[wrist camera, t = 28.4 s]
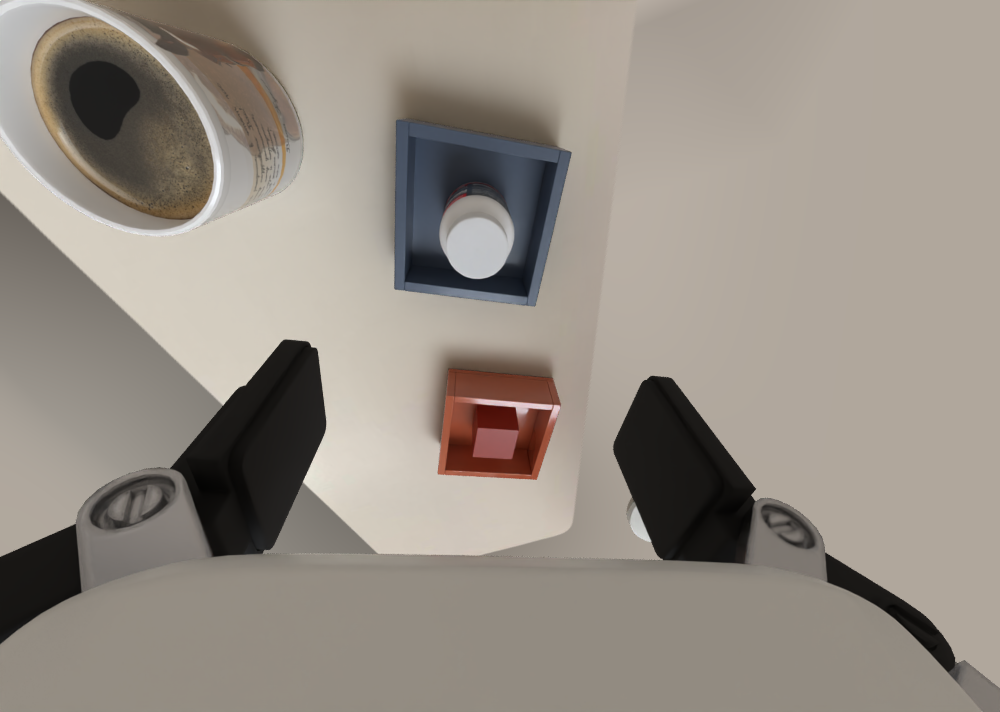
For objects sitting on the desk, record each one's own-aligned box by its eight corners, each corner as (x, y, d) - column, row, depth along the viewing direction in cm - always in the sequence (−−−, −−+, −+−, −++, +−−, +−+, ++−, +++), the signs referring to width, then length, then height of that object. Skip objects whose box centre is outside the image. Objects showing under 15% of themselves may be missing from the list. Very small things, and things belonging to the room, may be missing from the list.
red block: (515, 403, 42) (519, 430, 38) (508, 430, 44) (511, 459, 41) (476, 399, 41) (477, 427, 38) (472, 428, 44) (472, 457, 40)
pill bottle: (460, 167, 29) (456, 187, 21) (519, 200, 30) (534, 229, 23) (434, 230, 31) (423, 267, 24) (490, 257, 33) (495, 300, 25)
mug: (230, 225, 30) (124, 274, 21) (78, 57, 24) (-165, 23, 15) (332, 158, 28) (265, 181, 19) (194, -44, 22) (-4, -156, 13)
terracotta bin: (552, 378, 41) (561, 405, 37) (531, 450, 47) (536, 479, 44) (448, 368, 40) (446, 395, 36) (440, 444, 46) (437, 474, 42)
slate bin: (558, 146, 29) (571, 152, 25) (528, 285, 35) (535, 306, 31) (406, 118, 27) (395, 119, 23) (403, 269, 33) (394, 289, 29)
